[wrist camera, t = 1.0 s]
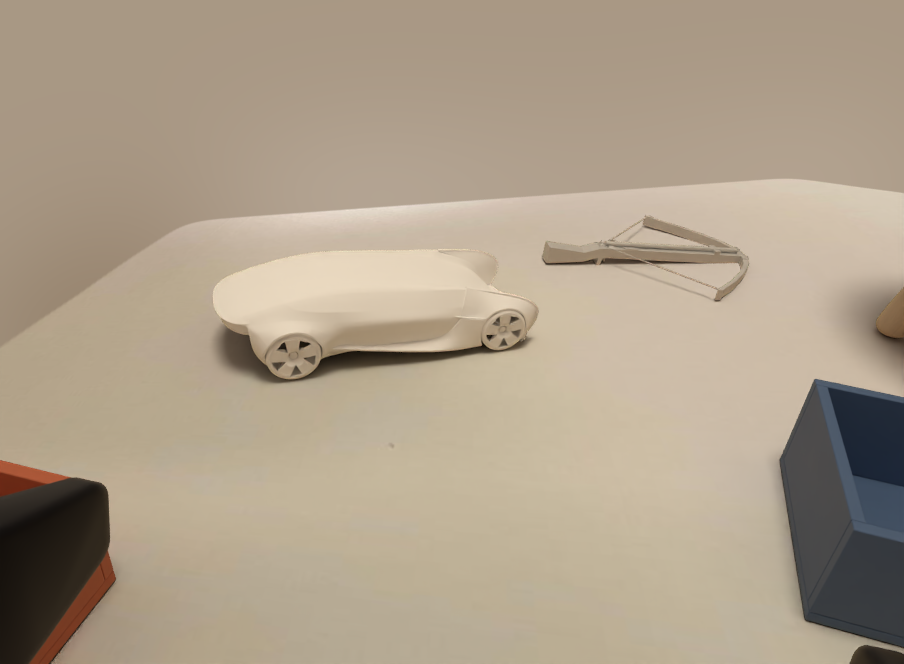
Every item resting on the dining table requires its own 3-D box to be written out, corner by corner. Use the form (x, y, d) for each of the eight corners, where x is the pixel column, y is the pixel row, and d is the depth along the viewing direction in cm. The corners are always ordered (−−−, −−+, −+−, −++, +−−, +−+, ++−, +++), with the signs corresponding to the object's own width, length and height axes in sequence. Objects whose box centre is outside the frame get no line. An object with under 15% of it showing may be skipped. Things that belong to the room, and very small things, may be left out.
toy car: (489, 284, 48) (496, 223, 45) (539, 346, 42) (550, 279, 39) (214, 314, 42) (205, 245, 40) (224, 391, 36) (215, 315, 33)
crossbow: (699, 236, 60) (707, 214, 59) (781, 312, 50) (792, 287, 49) (522, 226, 57) (527, 202, 56) (569, 305, 46) (577, 277, 45)
